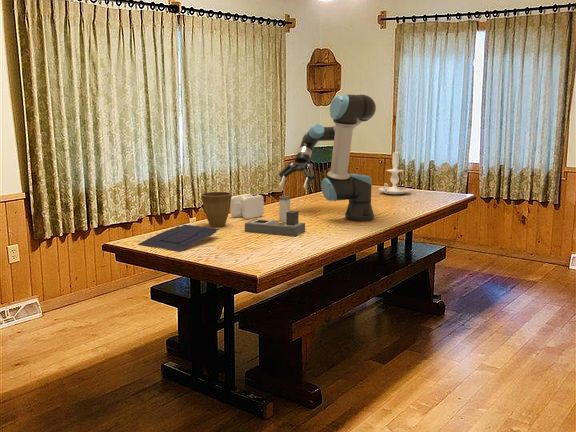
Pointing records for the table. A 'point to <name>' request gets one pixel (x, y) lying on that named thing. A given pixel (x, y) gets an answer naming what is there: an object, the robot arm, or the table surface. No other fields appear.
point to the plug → (284, 207)
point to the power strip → (277, 225)
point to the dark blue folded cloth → (179, 237)
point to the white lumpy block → (247, 206)
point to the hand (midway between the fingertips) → (292, 187)
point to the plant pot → (216, 207)
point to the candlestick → (394, 179)
